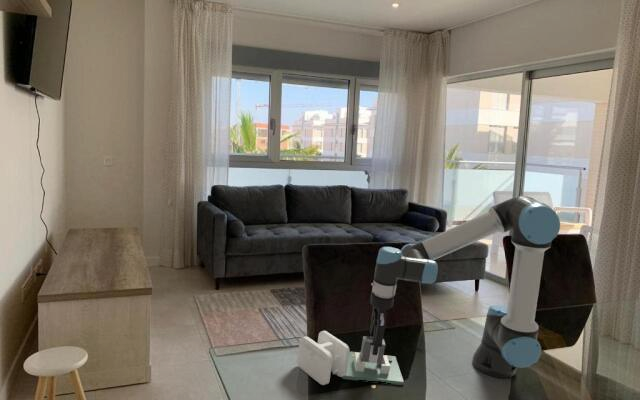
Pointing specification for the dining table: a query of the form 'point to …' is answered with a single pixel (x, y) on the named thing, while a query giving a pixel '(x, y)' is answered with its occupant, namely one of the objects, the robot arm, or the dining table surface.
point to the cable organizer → (323, 357)
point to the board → (373, 370)
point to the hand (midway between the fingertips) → (371, 358)
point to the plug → (367, 347)
